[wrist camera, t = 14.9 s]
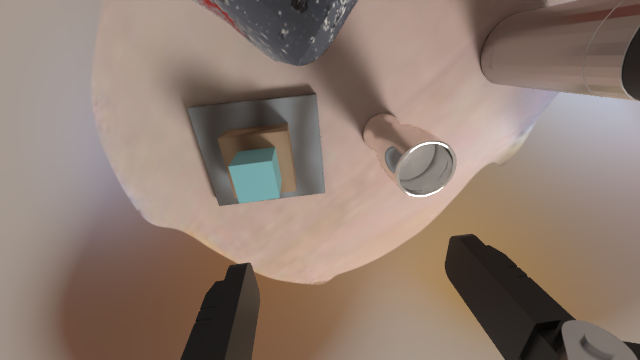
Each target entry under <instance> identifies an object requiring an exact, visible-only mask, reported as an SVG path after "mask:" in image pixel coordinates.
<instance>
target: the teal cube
mask: <svg viewBox="0 0 640 360" xmlns="http://www.w3.org/2000/svg"><path fill="white" fill-rule="evenodd" d="M228 168H229V171H230V174H231V178H232V181H233V184H234V188H235V191H236V194H237V197H238V201H239V203H246V202H254V201H261V200H269V199H276V198H280V190H281V182H282V179H281V174H280V169H279V164H278V159H277V154H276V148H275V147H271V148H263V149H256V150H248V151H240V152H237V154H236V155H235V157H234V158H233V160H232V161H231V163H230V165H229V166H228Z"/></svg>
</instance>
